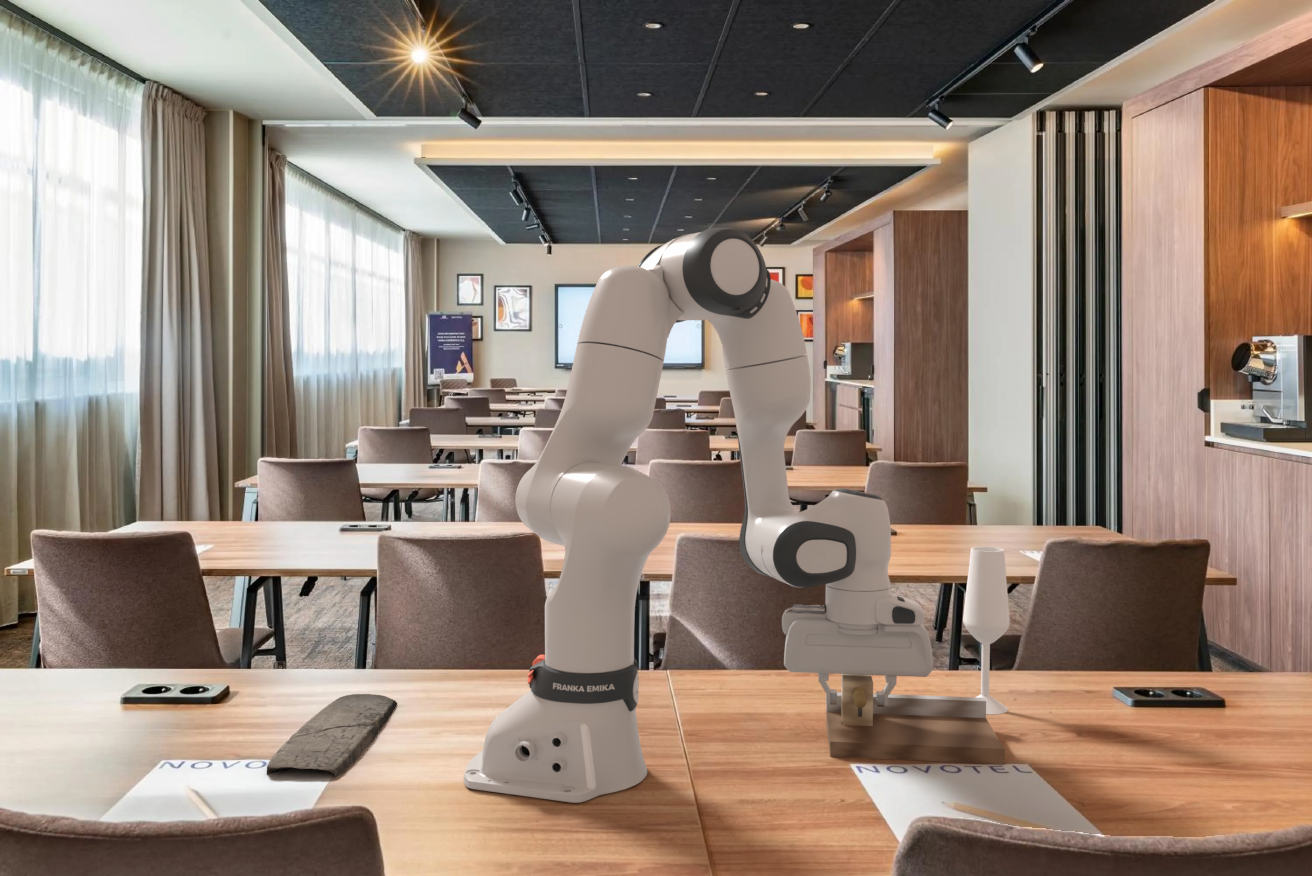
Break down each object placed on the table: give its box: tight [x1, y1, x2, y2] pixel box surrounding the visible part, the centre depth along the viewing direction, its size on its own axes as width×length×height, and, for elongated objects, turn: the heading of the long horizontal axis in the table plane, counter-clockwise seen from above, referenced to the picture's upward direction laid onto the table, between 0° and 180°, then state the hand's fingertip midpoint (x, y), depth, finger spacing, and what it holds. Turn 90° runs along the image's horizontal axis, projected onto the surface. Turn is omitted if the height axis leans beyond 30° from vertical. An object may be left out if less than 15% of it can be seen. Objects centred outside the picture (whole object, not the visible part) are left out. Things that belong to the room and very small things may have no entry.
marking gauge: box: [840, 674, 874, 726], centre depth 142 cm, size 4×9×6 cm, turn 173°
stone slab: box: [266, 693, 398, 778], centre depth 143 cm, size 10×3×30 cm
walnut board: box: [825, 691, 1005, 765], centre depth 141 cm, size 22×14×4 cm, turn 83°
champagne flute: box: [962, 546, 1011, 715], centre depth 156 cm, size 7×7×24 cm
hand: (856, 704), depth 144 cm, fingers open, 5 cm apart
